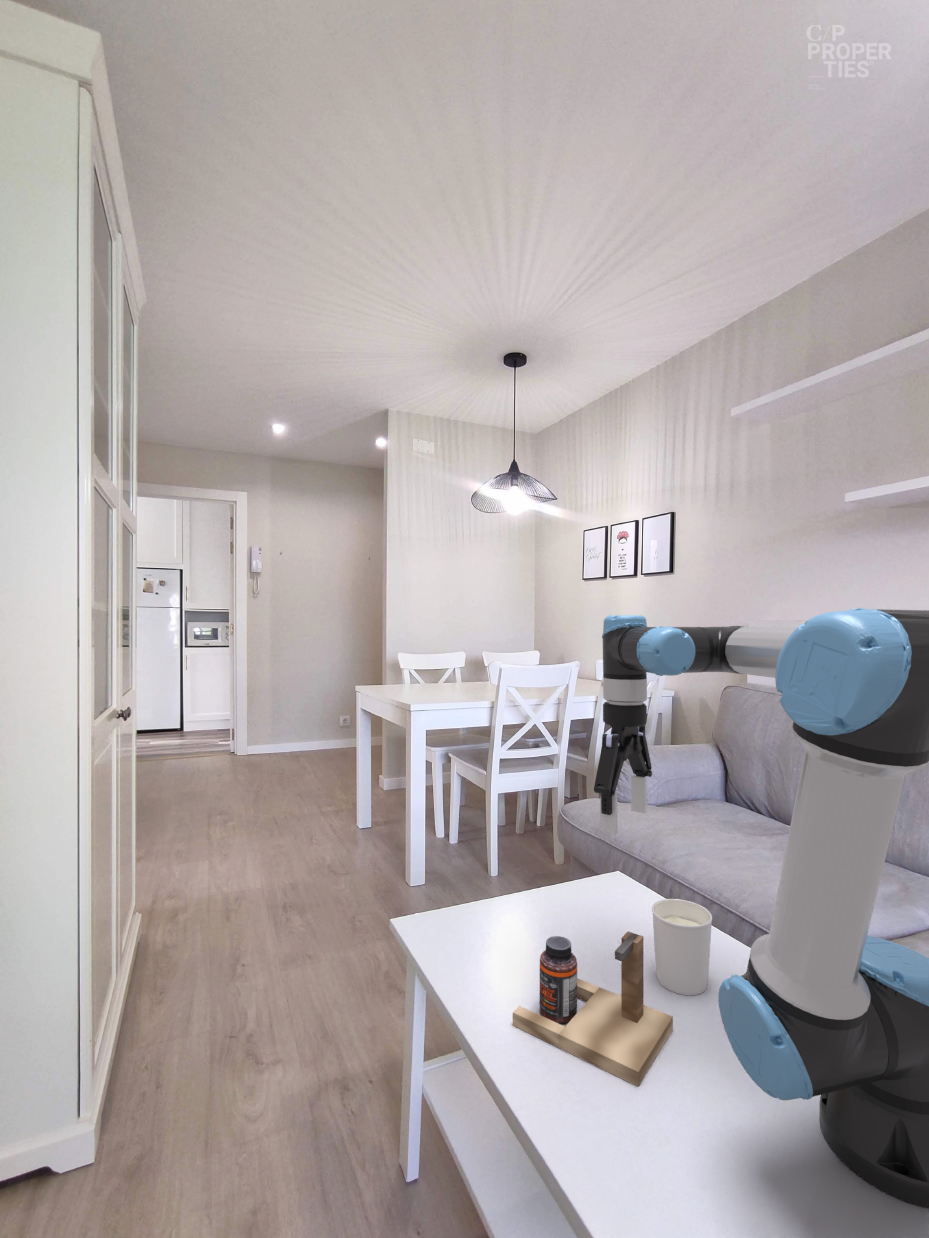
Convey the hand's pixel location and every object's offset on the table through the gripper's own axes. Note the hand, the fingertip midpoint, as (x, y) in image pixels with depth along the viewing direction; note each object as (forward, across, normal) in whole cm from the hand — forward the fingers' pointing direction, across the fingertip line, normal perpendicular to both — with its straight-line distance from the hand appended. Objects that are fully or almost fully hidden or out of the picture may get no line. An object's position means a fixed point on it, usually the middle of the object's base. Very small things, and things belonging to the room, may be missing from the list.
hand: (624, 821), depth 106 cm
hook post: (+25, +15, +7) cm, 30 cm away
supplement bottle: (+27, +17, -4) cm, 32 cm away
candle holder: (+27, -4, +9) cm, 29 cm away
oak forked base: (+27, +17, +2) cm, 32 cm away
